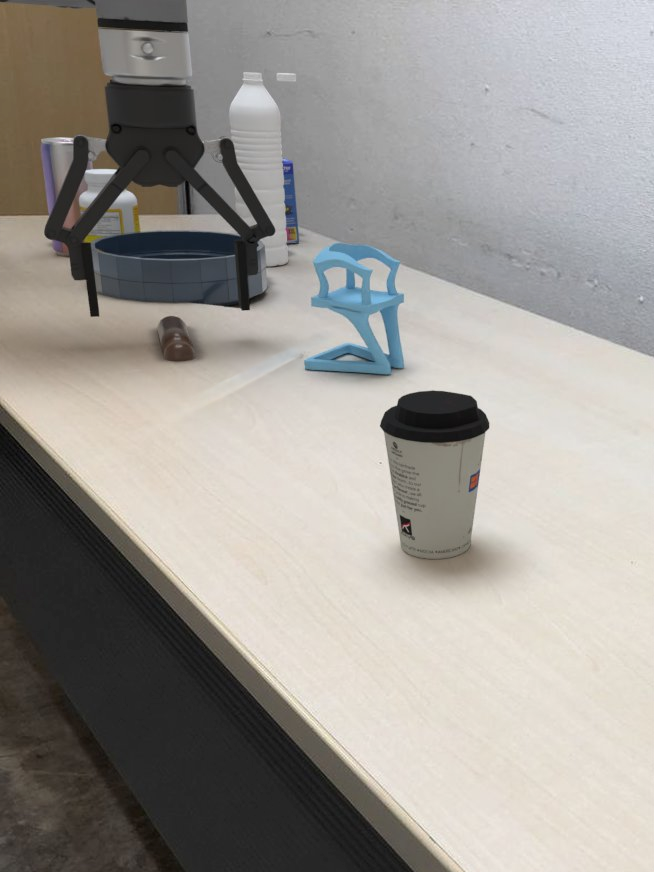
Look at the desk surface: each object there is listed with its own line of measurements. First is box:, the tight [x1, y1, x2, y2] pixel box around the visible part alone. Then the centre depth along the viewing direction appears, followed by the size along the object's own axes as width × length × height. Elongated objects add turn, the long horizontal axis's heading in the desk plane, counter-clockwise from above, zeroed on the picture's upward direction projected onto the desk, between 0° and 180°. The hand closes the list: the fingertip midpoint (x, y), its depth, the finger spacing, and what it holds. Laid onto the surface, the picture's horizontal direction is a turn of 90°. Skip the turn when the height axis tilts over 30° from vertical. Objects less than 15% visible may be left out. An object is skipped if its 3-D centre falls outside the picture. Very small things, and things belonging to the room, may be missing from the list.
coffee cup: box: [379, 390, 490, 560], centre depth 73 cm, size 7×7×10 cm
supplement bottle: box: [79, 168, 141, 243], centre depth 141 cm, size 7×7×13 cm
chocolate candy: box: [157, 315, 196, 362], centre depth 111 cm, size 13×3×3 cm, turn 25°
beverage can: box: [40, 137, 94, 258], centre depth 151 cm, size 6×6×15 cm
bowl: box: [91, 229, 268, 307], centre depth 135 cm, size 19×19×6 cm
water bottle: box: [228, 71, 297, 268], centre depth 151 cm, size 9×6×25 cm
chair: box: [303, 242, 405, 375], centre depth 110 cm, size 8×8×12 cm
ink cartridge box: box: [282, 157, 300, 245], centre depth 169 cm, size 10×6×14 cm, turn 40°
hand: (171, 310), depth 110 cm, fingers open, 13 cm apart
